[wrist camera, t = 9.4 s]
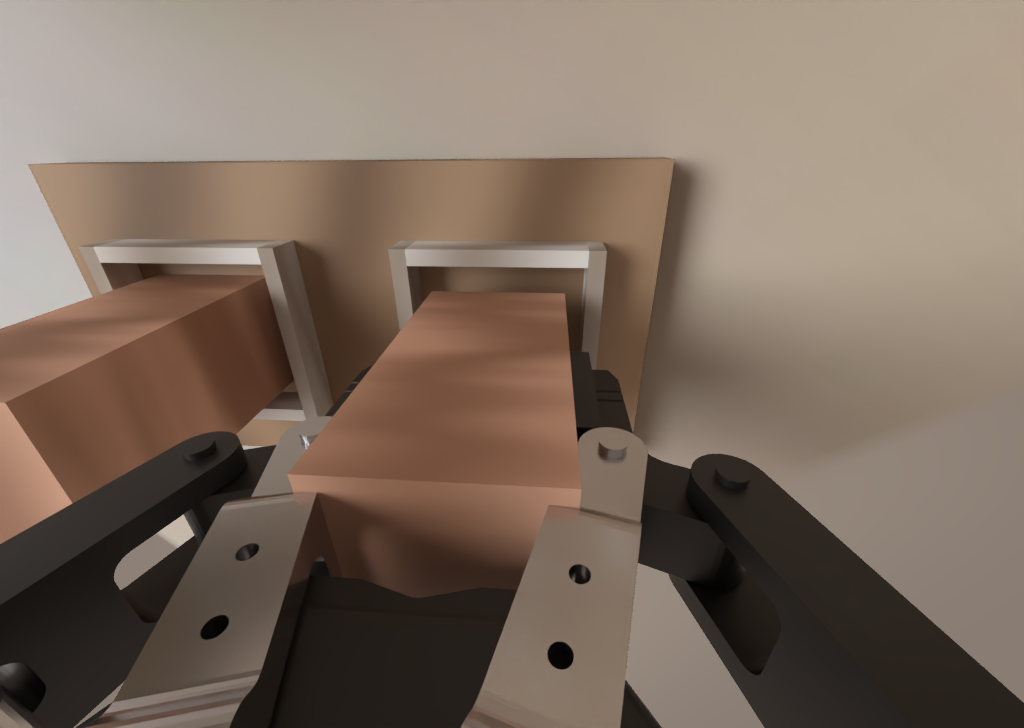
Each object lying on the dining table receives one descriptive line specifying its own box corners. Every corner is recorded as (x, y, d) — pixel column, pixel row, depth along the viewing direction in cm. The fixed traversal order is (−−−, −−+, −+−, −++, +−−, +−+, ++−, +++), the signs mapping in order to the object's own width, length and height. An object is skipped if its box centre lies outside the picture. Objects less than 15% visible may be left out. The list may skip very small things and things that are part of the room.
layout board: (664, 157, 13) (851, 187, 5) (624, 443, 18) (683, 689, 10) (65, 162, 15) (-543, 192, 6) (184, 425, 20) (-73, 625, 12)
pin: (564, 293, 13) (582, 489, 6) (559, 406, 14) (566, 661, 7) (431, 291, 13) (287, 474, 6) (443, 402, 15) (343, 643, 8)
